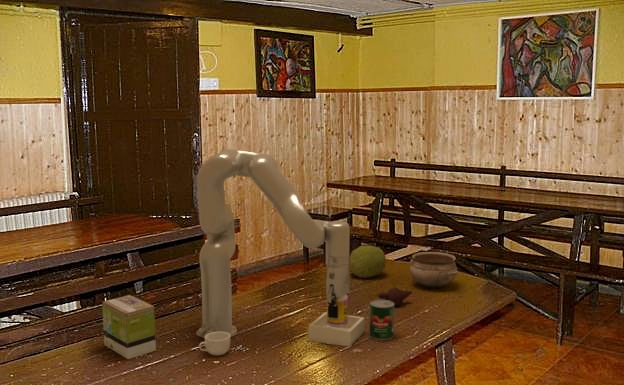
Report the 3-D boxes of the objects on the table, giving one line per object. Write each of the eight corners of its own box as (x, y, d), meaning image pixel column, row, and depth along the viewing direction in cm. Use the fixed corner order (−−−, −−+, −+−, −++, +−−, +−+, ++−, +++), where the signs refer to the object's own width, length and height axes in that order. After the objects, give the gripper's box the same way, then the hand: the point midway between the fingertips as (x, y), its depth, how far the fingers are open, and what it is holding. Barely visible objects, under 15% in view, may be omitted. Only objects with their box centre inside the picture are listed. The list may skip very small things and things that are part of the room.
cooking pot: (394, 283, 276) (395, 254, 274) (426, 275, 287) (427, 248, 285) (439, 298, 256) (440, 267, 254) (472, 289, 267) (473, 259, 265)
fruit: (359, 269, 297) (376, 240, 294) (380, 287, 287) (398, 258, 285) (337, 264, 285) (354, 234, 282) (358, 283, 275) (376, 252, 273)
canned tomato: (374, 341, 212) (374, 308, 210) (365, 332, 219) (366, 300, 217) (397, 338, 214) (398, 305, 212) (388, 330, 221) (388, 298, 220)
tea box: (103, 346, 207) (100, 300, 205) (132, 338, 214) (130, 293, 212) (127, 360, 196) (125, 312, 194) (157, 351, 203) (155, 304, 201)
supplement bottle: (345, 328, 211) (346, 289, 209) (325, 327, 213) (325, 288, 211) (349, 321, 218) (349, 283, 216) (329, 320, 219) (329, 282, 217)
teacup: (223, 346, 207) (223, 329, 207) (235, 354, 201) (235, 337, 200) (194, 353, 202) (193, 336, 201) (205, 361, 196) (204, 344, 195)
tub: (350, 347, 207) (350, 331, 206) (308, 340, 212) (308, 325, 211) (364, 332, 219) (364, 317, 219) (325, 326, 225) (325, 312, 224)
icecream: (404, 282, 254) (372, 292, 247) (416, 282, 247) (383, 292, 240) (408, 300, 254) (375, 310, 246) (420, 301, 247) (387, 311, 240)
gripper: (338, 267, 203) (338, 324, 205) (357, 255, 218) (357, 307, 221) (316, 265, 205) (316, 320, 208) (336, 253, 221) (335, 304, 224)
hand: (337, 313), depth 215 cm, fingers closed on supplement bottle, 6 cm apart
